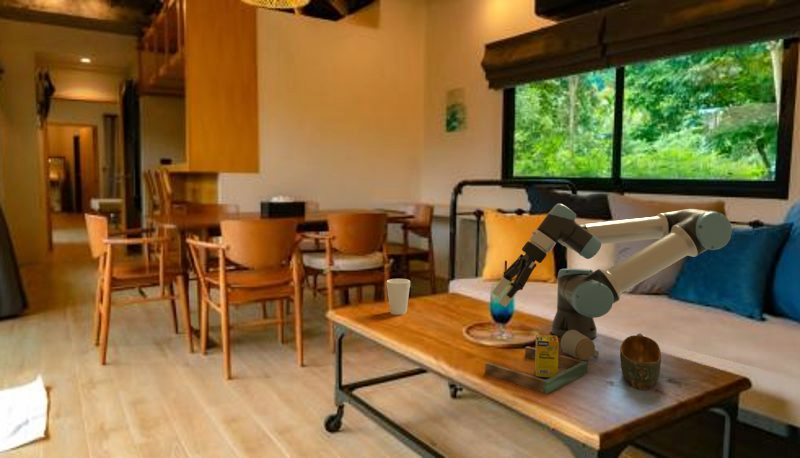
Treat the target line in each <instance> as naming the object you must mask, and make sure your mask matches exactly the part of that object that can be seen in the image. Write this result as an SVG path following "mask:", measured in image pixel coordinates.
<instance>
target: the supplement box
mask: <svg viewBox="0 0 800 458" xmlns="http://www.w3.org/2000/svg"><path fill="white" fill-rule="evenodd" d="M558 337H559V336H556V335H547V334H535V348H536V352H535V359H534V362H535V363H534V375H535V376H534V377H538V378H541V379H544V380H547V379H549V378H551V377H553V376H555V375H557V374H559V366H558V354H559V348H560V341H559V338H558Z"/></svg>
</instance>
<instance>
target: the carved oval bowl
mask: <svg viewBox="0 0 800 458" xmlns="http://www.w3.org/2000/svg"><path fill="white" fill-rule="evenodd" d="M619 351H620V352H619V356H620V357H619V358H620V368H621V372H622V376H623V379H624V381H625V383H626V384H627V385H629V386H630V387H631V386H632V387H631V388H632V389H635V388H636V389H635V390H639V389H641V390H643V391H645V390H646V389H648V390H651V389H652V388H653V386H654V387H655V385H656V384H657V382H658V380H659V377H660V373H661V364H662V363H661V362H662V360H661V359H662V355H661V354H662V353H661V352H662V351H661V348H660V346H659V344H658V343H657V341H656V340H654V339H652V338H651V337H648V336H643V334H642V333H638V334H637V335H629V336H628V337H626V338H624V340H623V341H622V342H621V344H620V350H619ZM646 391H647V390H646Z"/></svg>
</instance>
